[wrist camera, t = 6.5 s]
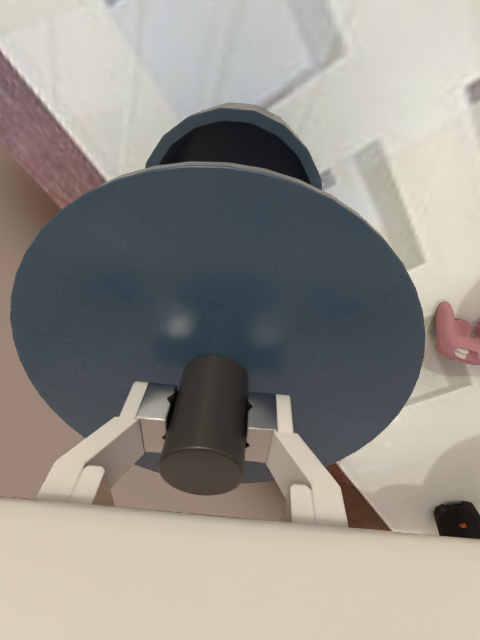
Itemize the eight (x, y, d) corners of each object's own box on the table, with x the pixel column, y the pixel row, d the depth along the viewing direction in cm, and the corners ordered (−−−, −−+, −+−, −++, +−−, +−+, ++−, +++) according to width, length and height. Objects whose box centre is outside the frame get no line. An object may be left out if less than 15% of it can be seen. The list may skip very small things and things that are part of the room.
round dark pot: (160, 95, 30) (130, 98, 23) (324, 111, 30) (343, 118, 23) (168, 249, 38) (148, 285, 31) (296, 261, 38) (304, 300, 31)
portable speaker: (435, 498, 65) (493, 632, 49) (485, 499, 65) (560, 635, 49) (423, 519, 70) (473, 647, 54) (470, 521, 70) (533, 651, 54)
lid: (-39, 132, 10) (-271, 170, 5) (495, 183, 10) (676, 259, 6) (73, 449, 19) (19, 556, 14) (351, 474, 19) (377, 588, 15)
